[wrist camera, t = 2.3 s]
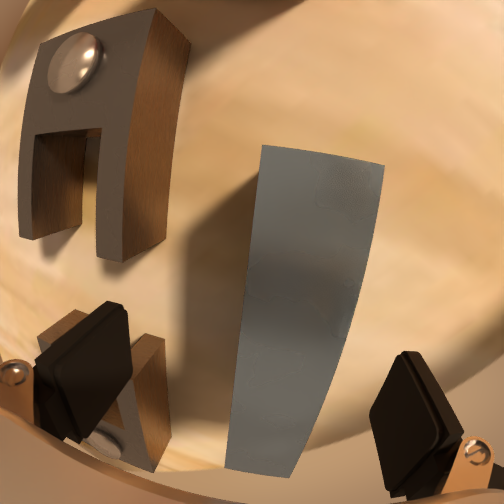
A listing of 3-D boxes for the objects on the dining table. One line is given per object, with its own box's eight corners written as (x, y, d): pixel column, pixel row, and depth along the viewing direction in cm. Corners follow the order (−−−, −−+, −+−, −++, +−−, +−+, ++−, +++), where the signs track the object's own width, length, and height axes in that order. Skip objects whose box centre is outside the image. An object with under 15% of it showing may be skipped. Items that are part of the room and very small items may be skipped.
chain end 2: (164, 339, 16) (128, 386, 11) (171, 436, 18) (151, 478, 14) (75, 309, 16) (31, 340, 12) (98, 407, 19) (72, 440, 15)
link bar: (345, 168, 12) (384, 165, 6) (295, 396, 16) (289, 478, 10) (278, 157, 12) (262, 144, 7) (246, 388, 16) (224, 467, 10)
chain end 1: (191, 43, 11) (150, 2, 7) (165, 238, 14) (115, 266, 10) (85, 59, 12) (33, 41, 7) (67, 221, 15) (12, 239, 10)
